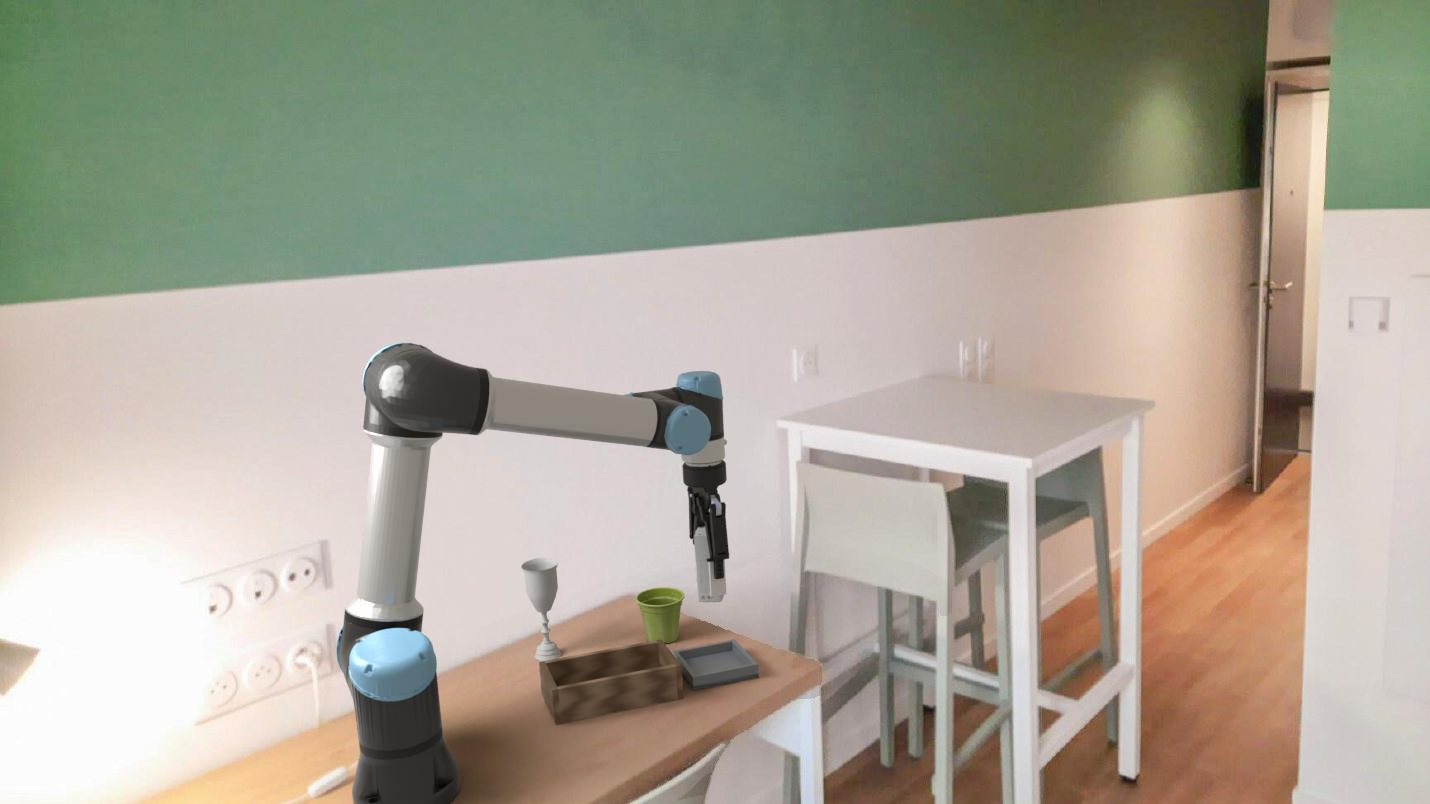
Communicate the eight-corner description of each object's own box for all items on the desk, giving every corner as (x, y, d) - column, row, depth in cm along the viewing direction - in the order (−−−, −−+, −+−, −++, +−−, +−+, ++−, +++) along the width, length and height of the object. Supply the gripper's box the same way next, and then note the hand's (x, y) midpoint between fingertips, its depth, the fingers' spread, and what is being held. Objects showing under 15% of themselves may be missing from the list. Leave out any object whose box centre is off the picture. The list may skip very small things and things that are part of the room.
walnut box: (554, 724, 177) (552, 690, 176) (541, 694, 188) (539, 661, 187) (683, 698, 184) (681, 665, 182) (663, 670, 195) (661, 639, 194)
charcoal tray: (693, 690, 186) (693, 677, 186) (673, 663, 197) (672, 650, 197) (758, 677, 190) (758, 664, 190) (735, 651, 201) (734, 639, 201)
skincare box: (722, 602, 188) (719, 536, 185) (697, 602, 188) (693, 536, 186) (725, 589, 194) (722, 524, 191) (700, 589, 194) (697, 525, 192)
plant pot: (696, 633, 210) (693, 591, 209) (668, 652, 203) (666, 608, 201) (656, 625, 215) (654, 584, 214) (628, 643, 208) (625, 600, 206)
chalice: (558, 664, 200) (550, 571, 196) (523, 662, 201) (515, 570, 198) (571, 647, 207) (563, 557, 203) (537, 646, 208) (529, 557, 205)
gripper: (744, 471, 178) (751, 602, 183) (706, 446, 197) (712, 567, 201) (701, 477, 176) (709, 610, 180) (666, 452, 195) (674, 573, 199)
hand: (711, 587), depth 191 cm, fingers closed on skincare box, 7 cm apart
